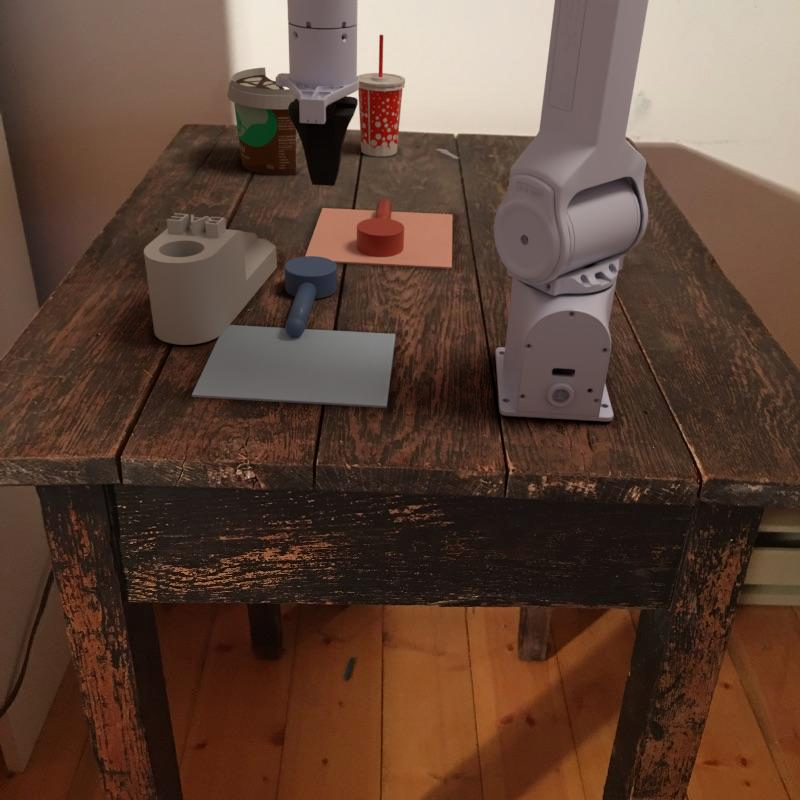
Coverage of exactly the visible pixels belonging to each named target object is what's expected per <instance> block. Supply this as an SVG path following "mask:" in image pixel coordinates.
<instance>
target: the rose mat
mask: <svg viewBox="0 0 800 800" xmlns="http://www.w3.org/2000/svg"><path fill="white" fill-rule="evenodd" d="M375 216H376V210H373V209H372V210H371V209H350V208H335V207H333V208H331V207H322V208H321V211H320V214H319V216H318V219H317V223H316V225H315V228H314V230H313V234H312V235H311V239H310V242H309V244H308V246H307V250H306V252H305V255H304V256H317V257H324V258H327V259H330V260H332V261H334V262H335V263H336V264H347V265H349V264H350V265H366V266H367V265H368V266H386V267H387V266H388V267H389V266H390V267H402V268H403V267H405V268H406V267H407V268H426V269H443V270H452V268H453V217H454V215H453V214H452V213H451V214H449V213H433V212H432V213H430V212H411V211H393V210H392V213H391V219H392V220H395V221H398V222H400V223H402V224H403V225H404V249H403V251H402V252H401V253H399V254H397V255H394V256H388V257H375V256H369V255H365V254H363V253H361V252H359V251H358V249H357V224H358V223H359V222H361V221H363V220H367V219H373V218H375Z"/></svg>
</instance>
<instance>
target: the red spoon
mask: <svg viewBox="0 0 800 800" xmlns="http://www.w3.org/2000/svg"><path fill="white" fill-rule="evenodd" d="M375 211H376V216H375V218H373V219H367V220H363V221H361V222H359V223H358V224H357V249H358V251H359V252H361V253H363V254H365V255H369V256H375V257H388V256H394V255H397V254H399V253H401V252H402V251H403V249H404V225H403V224H402V223H400V222H398V221H395V220H392V219H391V213H392V211H393V205H392V202H391V201H390V200H389V199H387V198H383V199H380V200H379V201H378V202H377V205H376V209H375Z"/></svg>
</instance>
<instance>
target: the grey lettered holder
mask: <svg viewBox="0 0 800 800" xmlns="http://www.w3.org/2000/svg"><path fill="white" fill-rule="evenodd" d="M166 226H167V228H166V229H165V230H163V231H162V232H161V233H160V234H159V235H158V236H156V237H155V238H154V239H153V240H151V242H149V243H148V244H147V245H146V246H145V247H144V248H143V256H144V263H145V271H146V280H147V287H148V288H147V289H148V294H149V302H150V309H151V310H150V311H151V318H152V324H153V326H152V327H153V333H154V335H155V337H156V338H157V339H159V340H160V341H162V342H165V343H166V344H167V343H168V344H172V345H180V346H189V345H190V346H191V345H199V344H203V343H207V342H211V341H212V340H215V339H218V338H219V336H220V335H221V334H223V332H224V331H225V330H226V329H227V328H228V326H229V325H232V323H233V322H234V320H235V319H236V318H237V317H238V316H239V314H240V313H241V312H242V311H243V310H244V308H246V306H247V305H248V303H249V302H250V301H251V300H252V299H253V297H254V296H255V295H256V293H258V292H259V290H260V288H262V286H263V285H264V284H265V283H266V281H268V279H269V278H270V277H271V275H273V274H274V272H275V270H276V269H277V268H278V259H277V258H278V257H277V246H276V245H275V244H274V243H272V242H271V241H269V240H268V239H266V238H259V237H258V236H257V234H256V233H255V232H250V231H249V232H248V231H244V230H239V229H227V226H226V217H221V216H209V215H204V216H203V217H197V216H195V214H188V213H181V212H179V213H178V212H174V213H173V215H171V216H170V218H166Z"/></svg>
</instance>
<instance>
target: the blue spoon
mask: <svg viewBox="0 0 800 800" xmlns="http://www.w3.org/2000/svg"><path fill="white" fill-rule="evenodd" d="M283 268H284V290H285V292H286V293H287V294H288V295H290V296H292V297H293V298H294V299H293V302H292V304H291V307H290V310H289V313H288V316H287V318H286V321H285V324H284V328H285V330H286V332H287V333H288V334H289V335H290V336H293V337H297V336H300V335H301V334H303V332H304V330H305V329H306V328H307V325H308V321H309V318H310V314H311V312H312V309H313V306H314V302H315V300H320V299H324V298H327V297H330V296H332V295H334V294H335V293H336V292H337V290H338V266H337V263H335V262H334V261H332V260H330V259H327V258H324V257H317V256H305V255H304V256H297V257H295V258H294V257H293V258H291V259H289V260H288V261H286V262H285V264H284V267H283Z"/></svg>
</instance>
